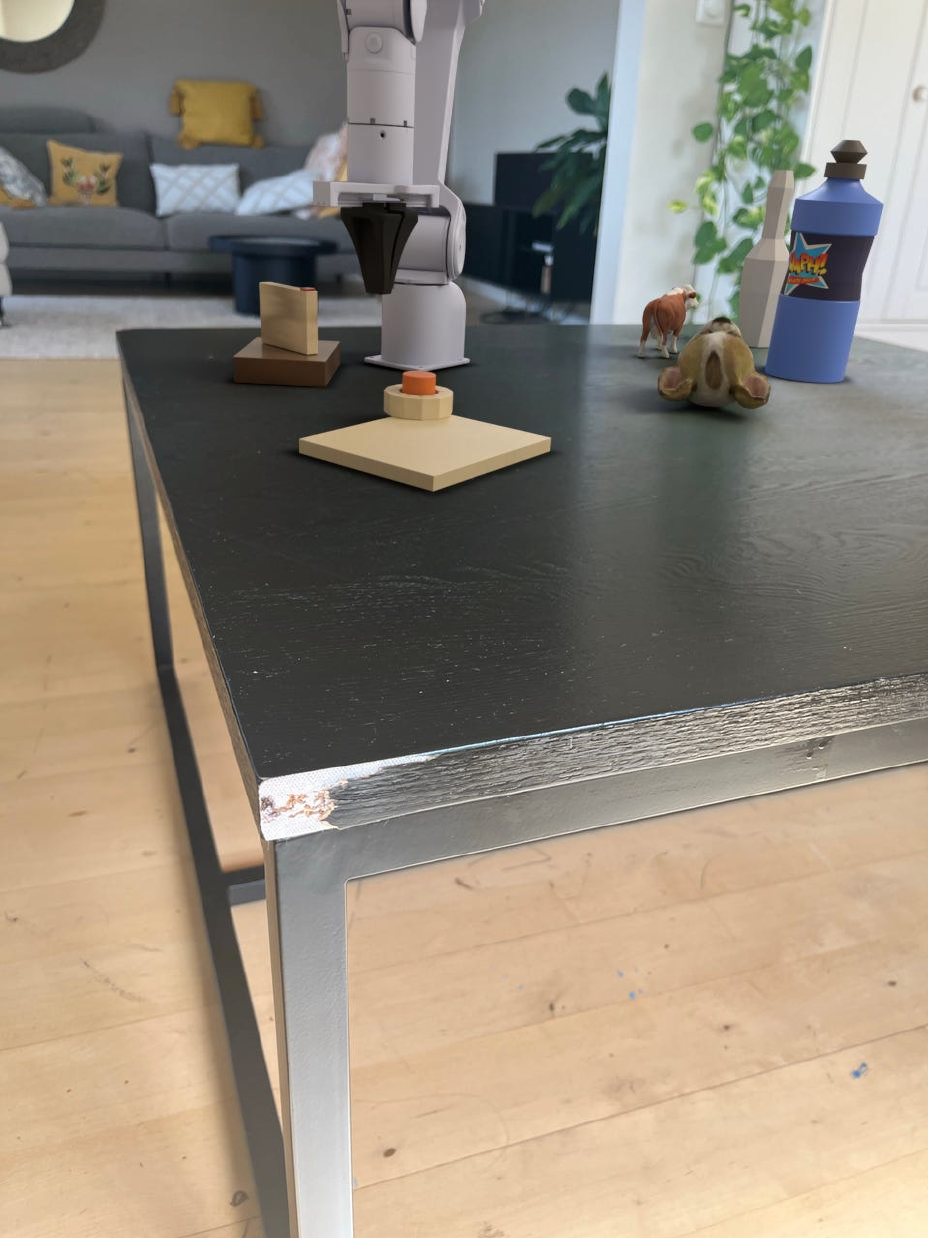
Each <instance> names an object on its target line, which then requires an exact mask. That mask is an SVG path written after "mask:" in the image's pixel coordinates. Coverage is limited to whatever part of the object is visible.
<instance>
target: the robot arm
mask: <svg viewBox="0 0 928 1238" xmlns="http://www.w3.org/2000/svg"><path fill="white" fill-rule="evenodd" d="M485 1H486V0H336V3H337V6H336V7H337V14H338V15H337V16H338V22H339V29H340V39H341V55H342V61H343V62H345V63H346V180H312V206H314V207H325V208H338V207H340V210H339V212H340V213H339V214H340V215H339V218H340V220H341V222H342V223H343V225H344V227H345V229H346V231H347V233H348V235H349V237H350V239H351V242H352V244H353V247H354V250H355V253H356V256H357V260H358V264H359V268H360V272H361V276H362V281H363V285H364V288H365V293H367V294H372V295H373V294H374V295H379V296H381V342H380V345H381V347H380V348H381V349H380V354H379V355H373V356H367V357H364V361H363V362H364V363H367V364H372V365H376V366H377V365H378V366H382V367H387V368H392V369H397V370H403V371H405V372H407V371H426V372H430V371H431V372H432V371H435V370H440V369H447V368H450V367H456V366H461V365H465V364H470V361H471V360H470V358H467V357H465V340H466V339H465V338H466V319H467V303H466V299H465V295H464V292H463V291H462V289H461V288H460V286H458V285H457V284H456V283H454V282H453V280H456V279H458V277H459V276H460V275H461V274H462V272H463V268H464V264H465V255H466V225H467V224H466V223H467V215H466V210H465V207H464V204H463V201H462V200H461V199H460V198H459V196H457V195H456V194H455V193H454V192H453V191H452V190H451V189H450V188H449V187H447V186H446V185H445V177H446V169H447V161H448V153H449V152H448V151H449V142H450V135H451V123H452V116H453V107H454V99H455V97H454V96H455V89H456V79H457V70H458V61H459V54H460V51H461V50H460V49H461V46H462V42H463V39H464V34H465V29H466V27H467V26H468V25H470V24H472V23H473V22H474V21H476V20H477V19H479V18H480V17H481V16H482V11H483V5H484V4H485ZM413 40H414V41H415V42H414V41H413ZM373 195H375V199H374V200H373V197H374V196H373ZM364 199H365V200H364Z"/></svg>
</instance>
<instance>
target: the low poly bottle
mask: <svg viewBox="0 0 928 1238" xmlns="http://www.w3.org/2000/svg"><path fill="white" fill-rule="evenodd" d="M794 191H795V179H794V170H783V169H775V170H774V172H773V174H772V177H771V179H770V182H769V184H768V186H767V194H766V204H765V206H766V207H765V213H764V221H763V226H762V231H761V236H760V237H761V238H760V239H758V241H757V242H756V243H755V244H754V246H753V247H752V248H751V249H750V251H749V252H748V253H747V254H746V255H745V256H744V262H743V266H742V272H741V280H740V285H739V293H738V311H737V327H738V328H739V330H740V333H741V336H742V338H743V339H744V340H745V342H746V343H747V345H748V347H749V348H750V347H751V348H769V345H770V340H771V334H772V329H773V324H774V318H775V313H776V308H777V303H778V298H779V293H780V291H781V288H782V285H783V282H784V279H785V276H786V273H787V269H788V262H789V249H788V247H787V245H786V242H785V241H784V235H785V230H786V224H787V219H788V214H789V209H790V206H791V202H792V198H793V194H794Z"/></svg>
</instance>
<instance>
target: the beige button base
mask: <svg viewBox="0 0 928 1238" xmlns="http://www.w3.org/2000/svg"><path fill="white" fill-rule="evenodd" d="M453 405H454V391H453V390H451V389H450V388H447V387H445V386H440V385H436V389H435V395H421V396H420V395H409V394H404V393H402V383H400V384H394V385H389V386H387V387H385V389H383V412H384V413H385V414H387V415H388V417H385V418H380V419H376V420H372V421H367V422H363V423H360V424H359V423H358V424H355V425H350V426H347V427H343V428H338V429H334V430H330V431H326V432H322V433H318V434H313V435H309V436H305V437H299V439H298V453H299V454H302V455H305V456H308V457H312V458H315V459H319V460H322V461H326V462H329V463H332V464H337V465H339V466H343V467H347V468H350V469H354V470H357V471H361V472H364V473H367V474H371V475H374V476H378V477H381V478H384V479H389V480H392V481H394V482H399V483H403V484H406V485H409V486H412V487H416V488H420V489H423V490H425V491H426V490H427V491H430V492H435V491H438V490H442V489H444V488H447V487H450V486H453V485H456V484H458V483H462V482H465V481H467V480H470V479H473V478H476V477H478V476H479V477H480V476H482V475H485V474H487V473H491V472H494V471H496V470H499V469H502V468H506V467H508V466H511V465H514V464H517V463H520V462H522V461H527V460H528V459H532V458H534V457H537V456H540V455H543V454H545V453H549V452H551V444H552V437H549V436H546V435H542V434H541V435H540V434H537V433H533V432H528V431H523V430H521V429H514V428H511V427H507V426H502V425H497V424H493V423H489V422H485V421H480V420H476V419H471V418H467V417H463V416H458V415H455V414H452V413H453V408H454V407H453Z"/></svg>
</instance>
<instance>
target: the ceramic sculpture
mask: <svg viewBox="0 0 928 1238" xmlns="http://www.w3.org/2000/svg"><path fill="white" fill-rule="evenodd" d="M771 390H772V385H771V384H770V383H769V379H768V377H767V376H766V375H764V374H761V373H759V372H757V370H756V368H755V361H754V355H753V353H752V350H751V349H750V347H748V345H747V343H746V342H745V340H744V339H743V338H742V336H741V333H740V330H739V328H738V325H737V324H736V323H735V322H733V321H732V320H731V319H730V318H728V317H725V316H718V317H715V318H714V319H712V320H710V321H708V322H707V323H705V324H704V325H703V326H702V327H701V329H700V330H699V331H698V332H697V333H696V334H695V335H693V336H692V337H691V338H690V339H689V341H688V342H687V344H686V345H684V347H683V348H682V350H681V351H680V352H679V354H678V358H677V362H676V363H675V365H673V366H667V367H664V368H663V369H662V370H661V373H660V374H659V375H658V377H657V393H658V395H659V396H660V397H661V398H662V399H664V400H665V401H668V402H670V403H671V402H672V403H678V402H679V403H680V402H681V401H683V400H685V399H686V398H687V399H688V400H689V401H690V402H692V403H693V404H695V405H698V406H702V407H710V408H723V407H727V406H730V405H731V404H734V403H737V404H739V406H740V407H742V408H743V409H747V410H756V409H758V408H762V407H764V406H765V405H766V404H768V402H769V399H770V395H771Z"/></svg>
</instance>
